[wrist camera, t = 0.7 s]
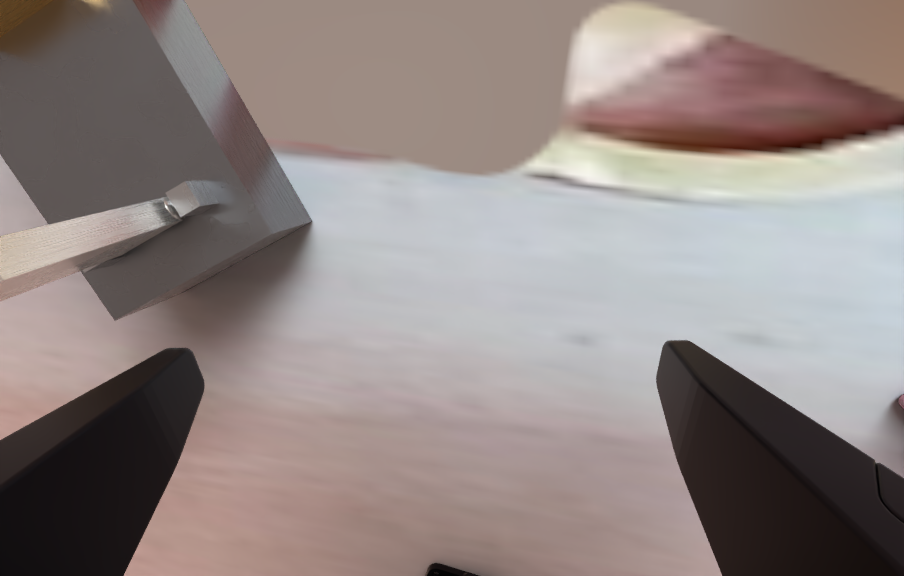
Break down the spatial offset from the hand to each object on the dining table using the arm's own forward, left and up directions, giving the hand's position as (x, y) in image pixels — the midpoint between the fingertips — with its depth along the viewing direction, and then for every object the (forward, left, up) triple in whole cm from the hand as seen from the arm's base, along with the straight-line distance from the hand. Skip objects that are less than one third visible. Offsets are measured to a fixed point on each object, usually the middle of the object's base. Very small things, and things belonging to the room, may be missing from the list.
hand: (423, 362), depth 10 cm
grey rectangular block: (+1, +15, -16) cm, 21 cm away
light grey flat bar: (-2, +12, -6) cm, 13 cm away
